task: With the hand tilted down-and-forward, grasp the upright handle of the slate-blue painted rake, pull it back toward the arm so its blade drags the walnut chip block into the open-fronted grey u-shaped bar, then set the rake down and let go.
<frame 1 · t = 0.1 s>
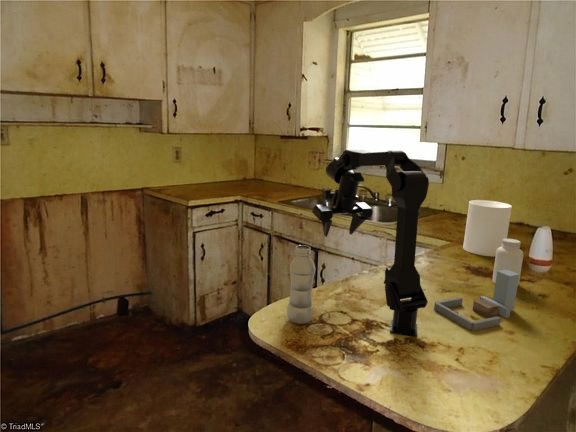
hand: (337, 235, 135), 15 cm above the worktop, tool pointing down, fingers open, 9 cm apart
pill bottle: (504, 284, 142), on the worktop
canister: (483, 250, 179), on the worktop
chip block: (484, 313, 119), on the worktop
plastic bottle: (299, 321, 110), on the worktop
grey u-shaped bar: (465, 316, 116), on the worktop
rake: (502, 308, 122), on the worktop
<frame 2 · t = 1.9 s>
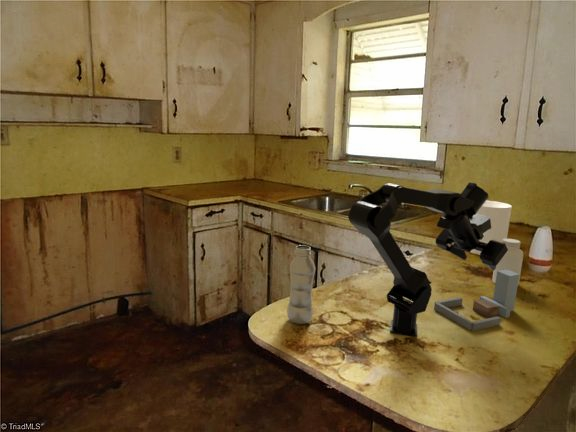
hand: (479, 263, 118), 14 cm above the worktop, tool tilted 45°, fingers open, 9 cm apart
nothing on the worktop moved.
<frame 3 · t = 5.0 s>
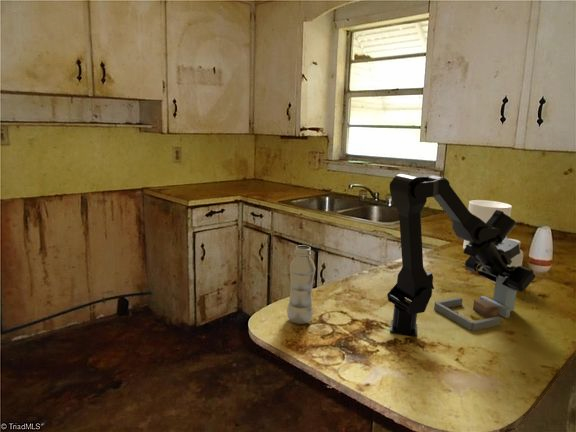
hand: (509, 286, 121), 7 cm above the worktop, tool tilted 45°, fingers closed on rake, 4 cm apart
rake: (502, 308, 122), on the worktop, touching gripper
everything else where it was.
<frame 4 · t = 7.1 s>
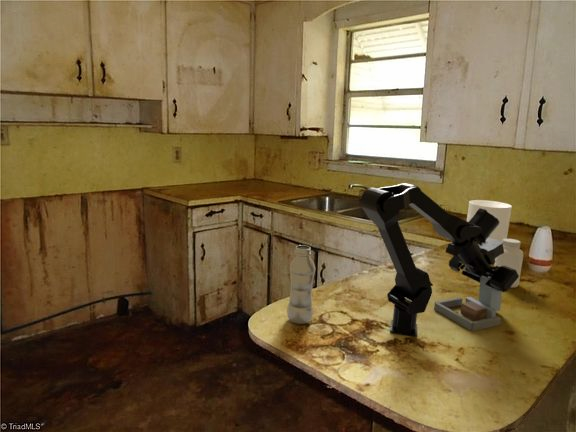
hand: (493, 287, 118), 7 cm above the worktop, tool tilted 45°, fingers closed on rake, 4 cm apart
chip block: (472, 315, 117), on the worktop, touching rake
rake: (489, 308, 120), point 1 cm above the worktop, tilted 6°, touching chip block, gripper
everything else where it was.
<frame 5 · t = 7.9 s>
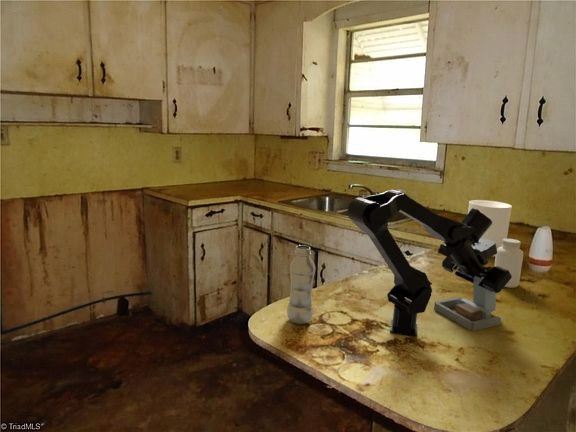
hand: (487, 287, 117), 7 cm above the worktop, tool tilted 45°, fingers closed on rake, 4 cm apart
chip block: (467, 317, 116), on the worktop
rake: (484, 309, 119), point 1 cm above the worktop, tilted 10°, touching gripper
everything else where it was.
when the fingers open (7 cm above the worktop, at t = 8.9 s): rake stays where it is, on the worktop.
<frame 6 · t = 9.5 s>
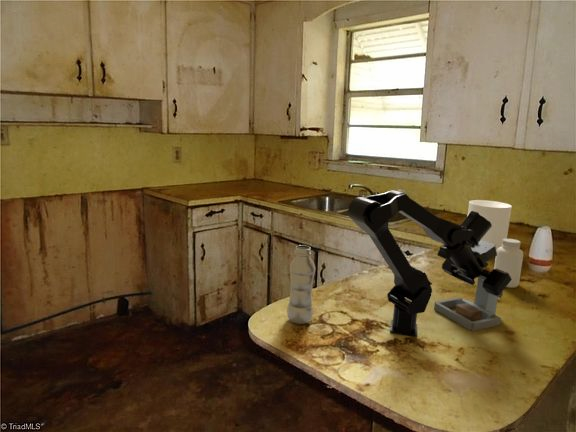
hand: (486, 289, 117), 7 cm above the worktop, tool tilted 45°, fingers open, 9 cm apart
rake: (484, 312, 119), on the worktop
everything else where it was.
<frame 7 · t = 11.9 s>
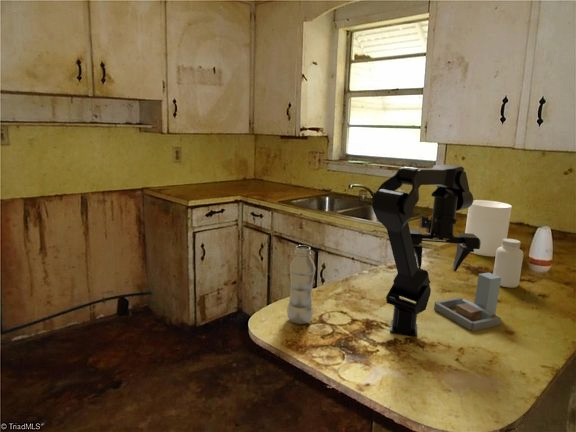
hand: (436, 269, 114), 13 cm above the worktop, tool pointing down, fingers open, 9 cm apart
nothing on the worktop moved.
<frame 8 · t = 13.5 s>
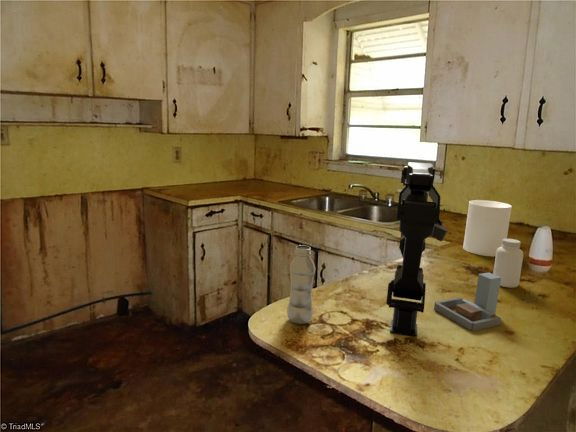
hand: (409, 265, 116), 13 cm above the worktop, tool pointing down, fingers open, 9 cm apart
nothing on the worktop moved.
at the end: chip block 0.6 cm from the grey u-shaped bar (horizontally); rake moved 7.3 cm from its start; the gripper is holding nothing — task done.
